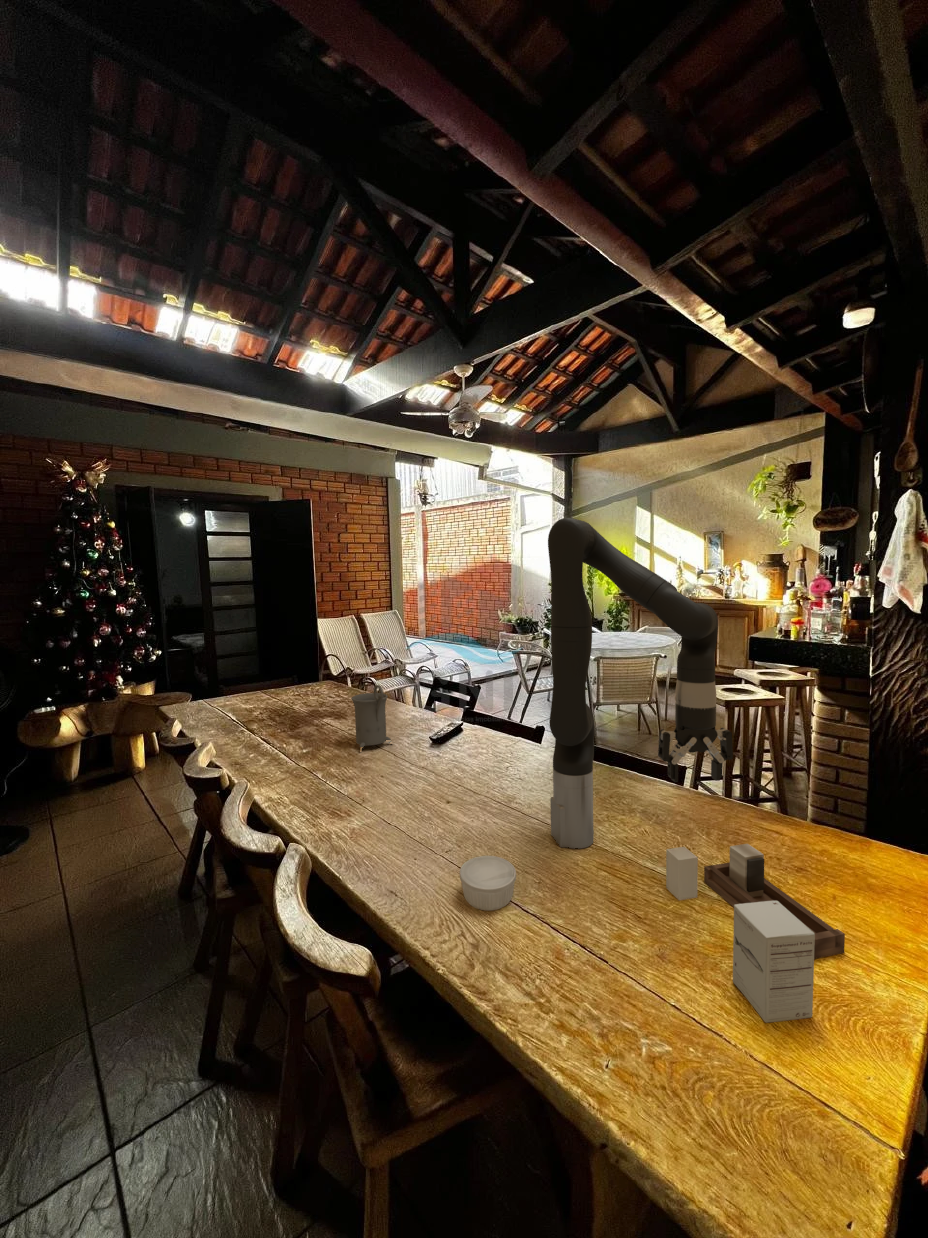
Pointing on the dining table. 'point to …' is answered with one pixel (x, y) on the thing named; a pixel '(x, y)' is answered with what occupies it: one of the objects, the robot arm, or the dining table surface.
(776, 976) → the supplement box
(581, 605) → the robot arm
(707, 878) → the rail
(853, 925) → the dining table surface
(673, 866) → the grey upright block
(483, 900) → the ramekin
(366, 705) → the grey footed pot
